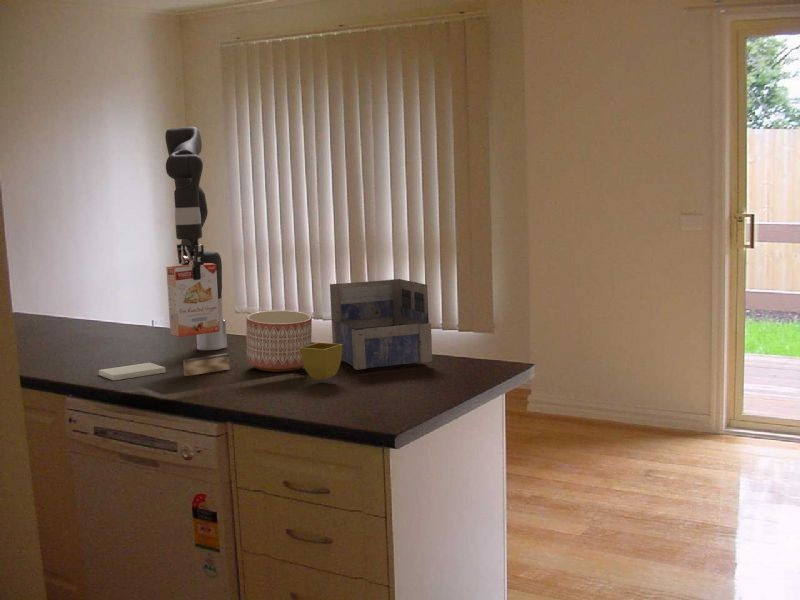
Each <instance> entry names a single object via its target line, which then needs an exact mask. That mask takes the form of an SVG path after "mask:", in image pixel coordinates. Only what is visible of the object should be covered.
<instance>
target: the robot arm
mask: <svg viewBox="0 0 800 600" xmlns="http://www.w3.org/2000/svg"><path fill="white" fill-rule="evenodd" d="M164 137H165V144H166V148H167V149H166V150H167V153H168V157H167V158H166V162H165V170H166V171H165V172H166V174H167V176H168V177H169V178H171V179H173V180H174V181H173V182H174V187H175V189H174V191H173V192H174V193H173V196H174V197H173V198H174V222H175V223H174V224H175V237H176V239H177V240H178V241H179V240H181V242H180V243H179V244H178V243H177V244H176V250H177V257H178V258H177V259H178V264H180V266H182V265H190V264H192V267H193V268H192V272H193V279H194V280H200V279H201V273H200V267H201V265H203V264H204V263H213V264H216V269H217V288H218V308H219V327H220V331H219V332H212V333H206V334H199V335H196V345H197V350H199V351H216V350H217V351H218V350H222V349H226V348H228V339H227V325H226V324H227V323H226V322H227V321H226V320H225V319H224V315H223V298H222V297H223V294H222V291H223V266H222V265H223V263H222V258H221V255H220V253H219V252H217V251H213V250H212V251H204V248H205V247H204V245H203V244H199V239H202V238H203V227H204V226H205V225H204V224H206V223H205V222H206V220H207V218H208V212H209V211H208V206H207V205H208V204H207V199H206V194H205V192H204V190H203V189H202V188H201V186H200V182H201V179H202V178H201V177H202V174H203V167H204V165H203V159H202V158H201V156H199V155H200V154H201V152H202V147H203V145H202V137H201V133H200V131H199V129H198V128H197V127H195V126H183V127H175V128H174V127H173V128H168V129H167V130H166V131H165V136H164Z"/></svg>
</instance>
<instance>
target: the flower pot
mask: <svg viewBox="0 0 800 600" xmlns="http://www.w3.org/2000/svg"><path fill="white" fill-rule="evenodd" d="M300 350H301V356H302V361H303V365H304V367H303V368H304V369H305V372H306V373H307V374H308V376H309V377H310V378H312V379H322V380H325V379H328V378H332V377H334V376H336V374H337V373H338V371H339V369H340V366H341V362H342V360H341V356H342V344H333V342H330V343H329V342H316V343H313V344H312V343H311V345H308V346H304V347H301V348H300Z"/></svg>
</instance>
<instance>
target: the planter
mask: <svg viewBox="0 0 800 600" xmlns="http://www.w3.org/2000/svg"><path fill="white" fill-rule="evenodd" d="M312 328H313V327H312V316H311V315H310V314H309V313H306V312H303V311H302V312H301V311H295V310H263V311H255V312H252V313H250V314H248V315H246V363H247V364H249V365H252V366H253V367H254V368H255V369H257V370H260V371H265V372H280V373H281V372H293V371H297V370H300V369H302V368H304V365H303V361H302V356H301V350H300V348H301V347H304V346H308V345H312Z"/></svg>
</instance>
